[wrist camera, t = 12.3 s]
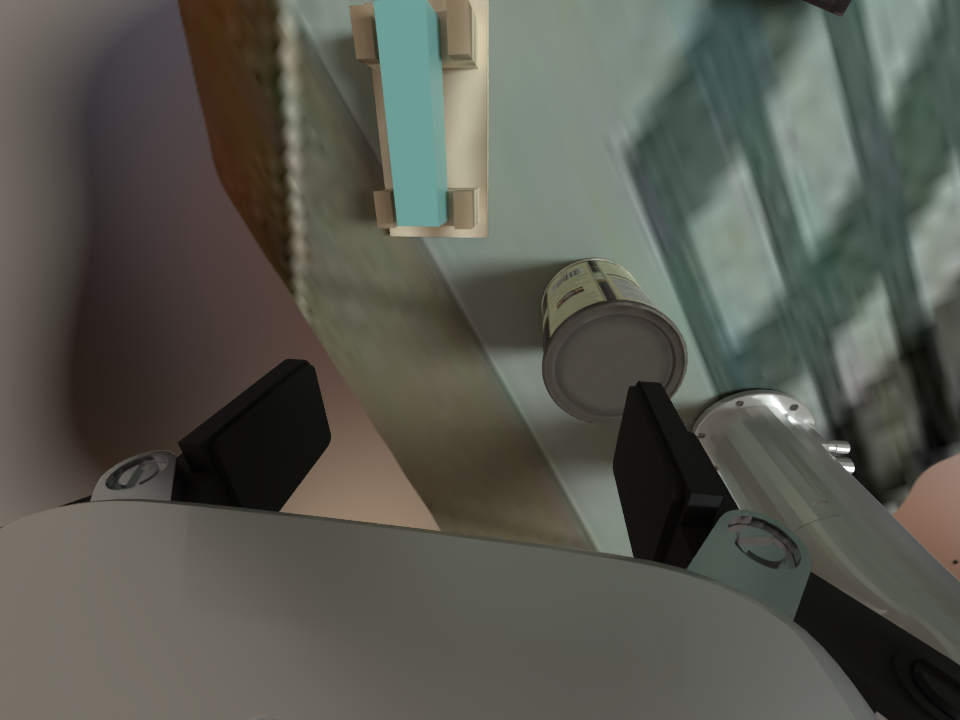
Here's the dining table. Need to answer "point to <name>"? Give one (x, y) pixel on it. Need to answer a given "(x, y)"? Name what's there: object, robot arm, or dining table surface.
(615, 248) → the dining table surface
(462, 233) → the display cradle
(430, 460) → the dining table surface
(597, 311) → the coffee can
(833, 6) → the diary
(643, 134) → the dining table surface
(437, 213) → the teal rectangular block
